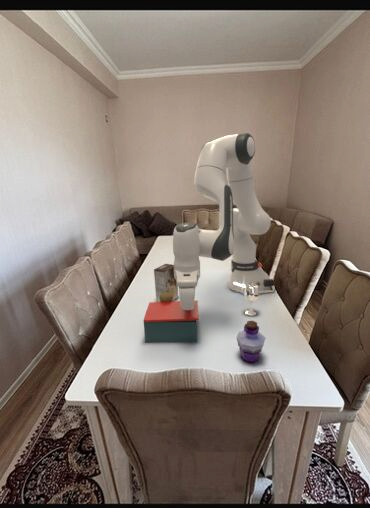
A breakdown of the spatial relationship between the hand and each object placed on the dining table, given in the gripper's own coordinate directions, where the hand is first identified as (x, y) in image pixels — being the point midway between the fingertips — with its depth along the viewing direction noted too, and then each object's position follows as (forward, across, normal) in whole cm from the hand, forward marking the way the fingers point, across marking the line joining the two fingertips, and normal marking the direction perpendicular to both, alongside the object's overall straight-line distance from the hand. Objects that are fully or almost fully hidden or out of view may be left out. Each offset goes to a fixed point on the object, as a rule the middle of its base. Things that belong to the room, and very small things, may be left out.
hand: (188, 308), depth 88 cm
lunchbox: (+9, 0, -6) cm, 11 cm away
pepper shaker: (+9, -8, -9) cm, 15 cm away
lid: (+1, 0, -6) cm, 6 cm away
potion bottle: (+10, +14, +19) cm, 25 cm away
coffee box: (+10, -25, -10) cm, 29 cm away
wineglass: (+9, -12, +25) cm, 29 cm away
